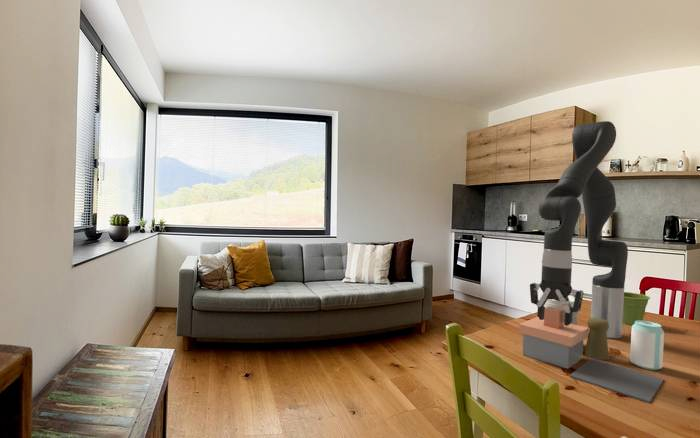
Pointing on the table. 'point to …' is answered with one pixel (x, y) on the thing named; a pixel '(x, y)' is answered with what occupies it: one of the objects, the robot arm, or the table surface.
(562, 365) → the storage box
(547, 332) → the lid
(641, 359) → the can
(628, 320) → the plant pot
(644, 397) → the mat
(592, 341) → the pepper mill
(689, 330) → the table surface
